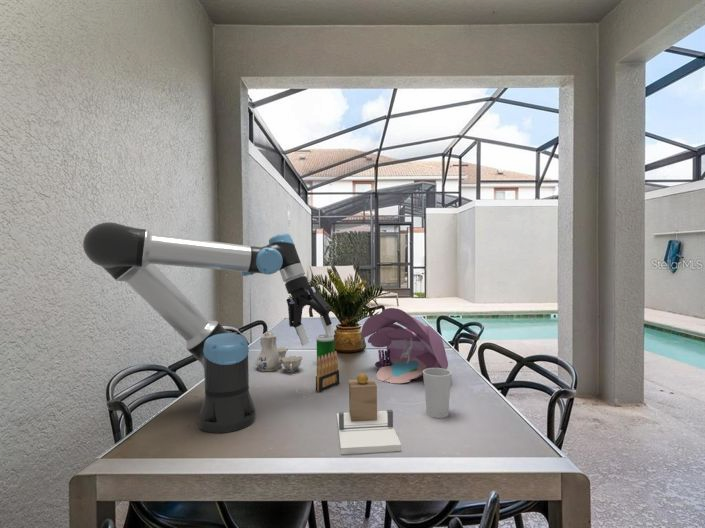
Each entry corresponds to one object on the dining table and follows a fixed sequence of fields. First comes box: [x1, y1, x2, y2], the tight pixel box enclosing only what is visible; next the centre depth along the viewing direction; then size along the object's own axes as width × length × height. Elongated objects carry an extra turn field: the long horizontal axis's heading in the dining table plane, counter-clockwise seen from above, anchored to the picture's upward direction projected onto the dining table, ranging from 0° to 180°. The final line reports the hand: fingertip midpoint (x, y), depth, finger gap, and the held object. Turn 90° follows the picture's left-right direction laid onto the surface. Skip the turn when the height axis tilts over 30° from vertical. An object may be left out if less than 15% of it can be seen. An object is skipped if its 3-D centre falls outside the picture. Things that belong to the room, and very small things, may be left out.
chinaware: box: [255, 328, 303, 373], centre depth 161 cm, size 28×17×17 cm, turn 35°
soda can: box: [316, 333, 335, 361], centre depth 165 cm, size 8×8×12 cm
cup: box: [422, 368, 452, 419], centre depth 112 cm, size 8×8×12 cm
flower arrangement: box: [360, 307, 449, 384], centre depth 147 cm, size 35×24×28 cm
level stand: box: [336, 409, 402, 455], centre depth 100 cm, size 20×14×6 cm
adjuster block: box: [348, 372, 378, 421], centre depth 107 cm, size 6×7×12 cm
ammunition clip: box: [315, 350, 340, 393], centre depth 135 cm, size 11×2×12 cm, turn 143°
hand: (318, 340), depth 126 cm, fingers open, 13 cm apart
